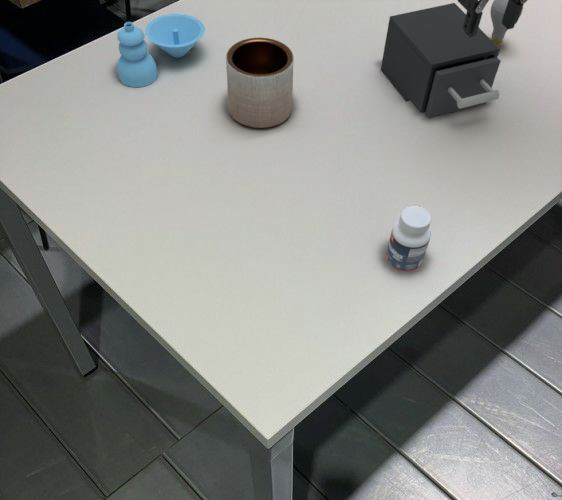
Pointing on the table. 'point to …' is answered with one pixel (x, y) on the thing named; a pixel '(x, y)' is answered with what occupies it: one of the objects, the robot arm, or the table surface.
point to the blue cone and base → (164, 33)
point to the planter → (259, 82)
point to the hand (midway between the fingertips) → (488, 30)
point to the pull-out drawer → (462, 86)
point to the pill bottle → (409, 239)
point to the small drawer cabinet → (429, 49)
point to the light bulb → (498, 20)
